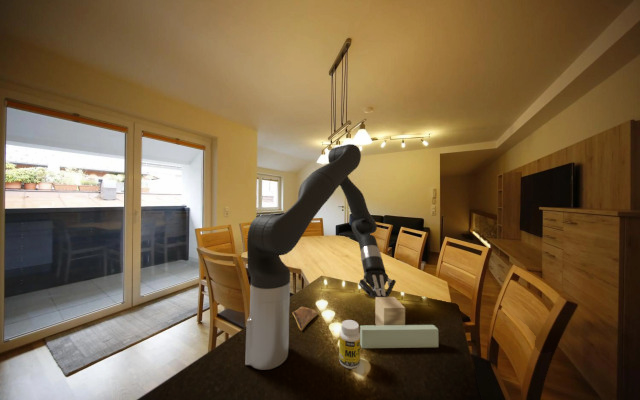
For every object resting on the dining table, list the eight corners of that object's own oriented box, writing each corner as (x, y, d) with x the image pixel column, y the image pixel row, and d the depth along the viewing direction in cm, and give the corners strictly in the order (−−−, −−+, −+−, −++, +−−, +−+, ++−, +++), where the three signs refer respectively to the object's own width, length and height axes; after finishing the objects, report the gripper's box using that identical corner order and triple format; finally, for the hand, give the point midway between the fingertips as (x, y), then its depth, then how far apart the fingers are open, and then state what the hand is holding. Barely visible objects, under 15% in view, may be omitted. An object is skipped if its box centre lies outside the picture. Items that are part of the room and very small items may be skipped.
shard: (300, 333, 58) (301, 327, 58) (279, 326, 61) (279, 319, 61) (318, 316, 67) (318, 310, 68) (299, 310, 71) (299, 305, 71)
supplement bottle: (343, 371, 44) (344, 331, 44) (336, 356, 49) (336, 320, 49) (363, 367, 45) (364, 328, 46) (354, 352, 50) (354, 317, 50)
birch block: (383, 337, 56) (384, 308, 56) (375, 323, 63) (375, 297, 63) (405, 337, 56) (405, 307, 57) (394, 323, 63) (394, 296, 64)
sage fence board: (361, 348, 52) (362, 330, 52) (359, 343, 54) (360, 325, 54) (438, 347, 53) (438, 329, 53) (433, 342, 55) (433, 324, 55)
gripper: (356, 254, 74) (365, 305, 61) (392, 255, 74) (408, 305, 62) (352, 265, 79) (360, 314, 66) (386, 265, 80) (400, 314, 67)
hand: (383, 310), depth 64 cm, fingers closed
